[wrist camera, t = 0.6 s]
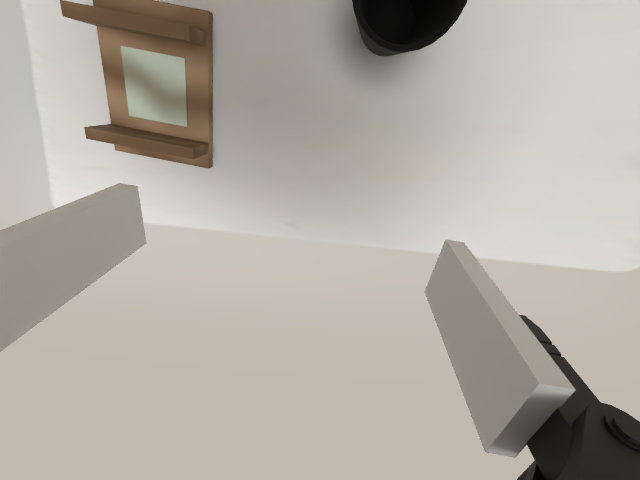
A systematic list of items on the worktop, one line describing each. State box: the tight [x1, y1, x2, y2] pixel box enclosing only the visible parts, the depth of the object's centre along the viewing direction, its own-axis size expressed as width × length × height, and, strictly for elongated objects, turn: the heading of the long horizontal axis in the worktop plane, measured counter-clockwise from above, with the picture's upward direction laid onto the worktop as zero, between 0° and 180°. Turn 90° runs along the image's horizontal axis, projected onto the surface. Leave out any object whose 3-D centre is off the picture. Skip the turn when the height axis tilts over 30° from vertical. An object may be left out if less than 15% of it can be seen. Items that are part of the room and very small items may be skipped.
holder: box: [60, 0, 212, 168], centre depth 31 cm, size 16×12×5 cm
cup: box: [352, 0, 467, 56], centre depth 23 cm, size 8×8×12 cm
